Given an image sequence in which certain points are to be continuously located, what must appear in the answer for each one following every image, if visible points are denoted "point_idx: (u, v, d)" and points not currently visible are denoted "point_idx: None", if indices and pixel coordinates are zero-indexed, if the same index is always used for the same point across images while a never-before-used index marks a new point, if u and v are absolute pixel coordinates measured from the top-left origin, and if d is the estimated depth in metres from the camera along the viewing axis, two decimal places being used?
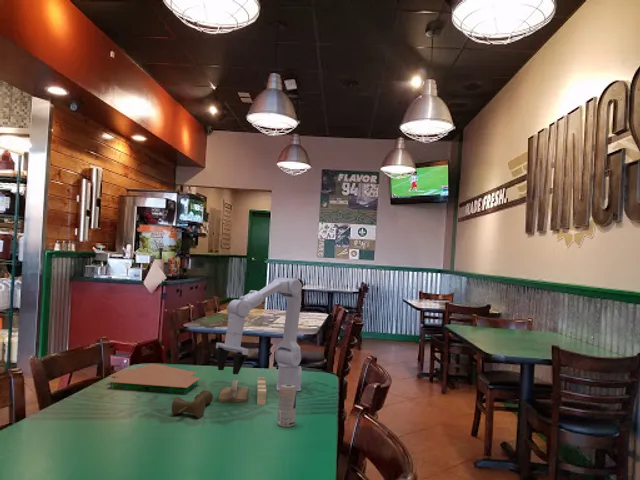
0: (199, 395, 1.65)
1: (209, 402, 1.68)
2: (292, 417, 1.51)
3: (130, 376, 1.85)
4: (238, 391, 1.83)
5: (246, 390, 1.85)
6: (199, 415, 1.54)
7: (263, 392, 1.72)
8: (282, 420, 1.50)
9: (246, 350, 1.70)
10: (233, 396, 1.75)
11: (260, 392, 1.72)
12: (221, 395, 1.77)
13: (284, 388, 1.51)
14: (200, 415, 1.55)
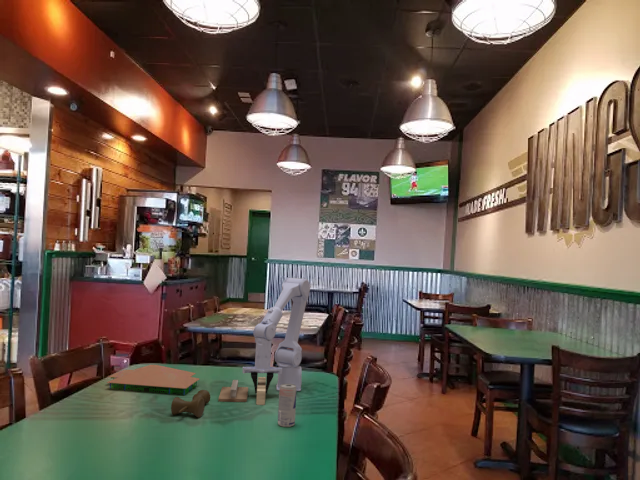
0: (197, 395, 1.66)
1: (207, 401, 1.69)
2: (292, 417, 1.51)
3: (129, 377, 1.84)
4: (238, 391, 1.83)
5: (246, 390, 1.85)
6: (199, 414, 1.55)
7: (262, 392, 1.72)
8: (282, 420, 1.50)
9: (282, 369, 1.83)
10: (233, 396, 1.75)
11: (259, 392, 1.72)
12: (221, 395, 1.77)
13: (284, 388, 1.51)
14: (200, 414, 1.56)
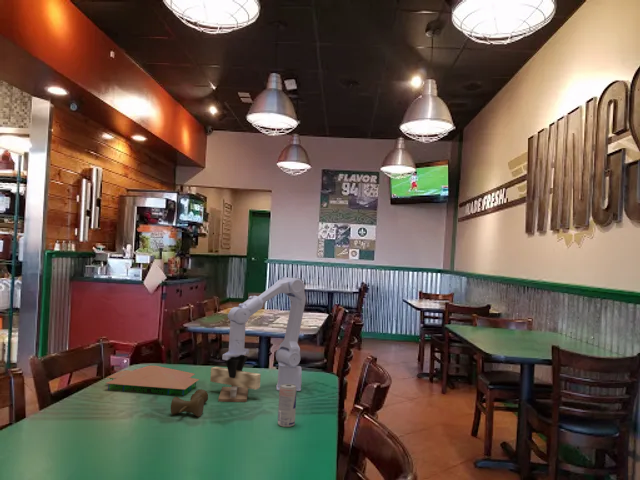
0: (195, 394, 1.66)
1: (205, 401, 1.69)
2: (292, 417, 1.51)
3: (128, 378, 1.83)
4: (238, 391, 1.83)
5: (246, 390, 1.85)
6: (199, 414, 1.55)
7: (259, 375, 1.78)
8: (282, 420, 1.50)
9: None
10: (233, 396, 1.75)
11: (257, 376, 1.77)
12: (221, 395, 1.77)
13: (284, 388, 1.51)
14: (200, 414, 1.56)
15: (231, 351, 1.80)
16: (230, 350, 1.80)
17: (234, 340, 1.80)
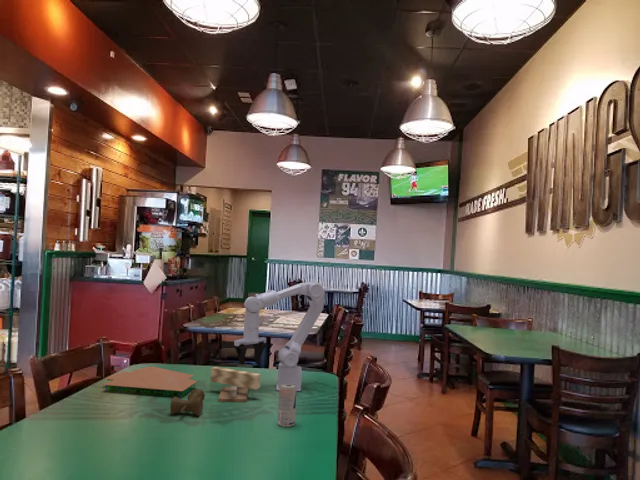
0: (193, 394, 1.67)
1: None
2: (292, 417, 1.51)
3: (126, 379, 1.80)
4: (238, 391, 1.83)
5: (246, 390, 1.85)
6: (199, 413, 1.56)
7: (259, 375, 1.78)
8: (282, 420, 1.50)
9: None
10: (233, 396, 1.75)
11: (257, 376, 1.77)
12: (221, 395, 1.77)
13: (284, 388, 1.51)
14: (200, 413, 1.57)
15: (244, 338, 1.89)
16: (244, 337, 1.89)
17: (247, 328, 1.88)
